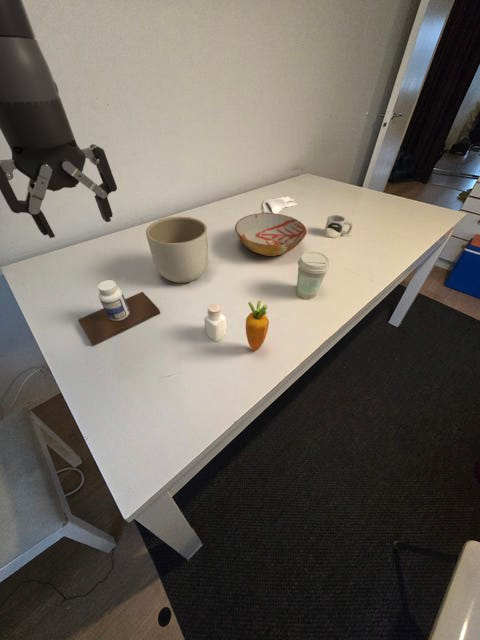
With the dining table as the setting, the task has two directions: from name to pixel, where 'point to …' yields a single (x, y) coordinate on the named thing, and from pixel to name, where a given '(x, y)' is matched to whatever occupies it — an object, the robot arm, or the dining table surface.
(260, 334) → the carrot
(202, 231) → the planter
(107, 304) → the pill bottle
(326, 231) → the mug
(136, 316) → the board
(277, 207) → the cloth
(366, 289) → the dining table surface
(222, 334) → the pepper shaker
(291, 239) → the bowl
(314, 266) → the coffee cup
